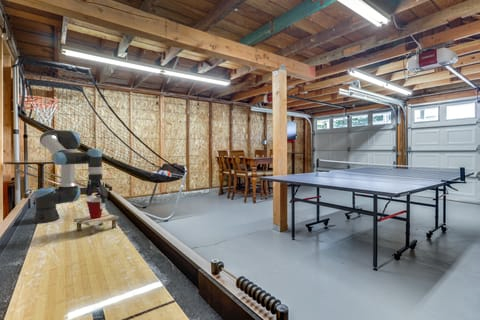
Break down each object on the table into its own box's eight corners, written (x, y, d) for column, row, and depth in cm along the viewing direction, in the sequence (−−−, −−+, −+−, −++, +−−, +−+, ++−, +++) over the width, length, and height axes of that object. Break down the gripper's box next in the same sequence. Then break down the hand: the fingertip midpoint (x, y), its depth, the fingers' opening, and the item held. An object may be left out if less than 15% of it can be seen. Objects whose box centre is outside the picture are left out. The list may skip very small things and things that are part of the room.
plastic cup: (99, 220, 153) (99, 200, 152) (82, 220, 153) (81, 200, 153) (109, 215, 164) (108, 197, 163) (93, 215, 164) (92, 197, 163)
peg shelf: (74, 231, 155) (73, 219, 155) (102, 223, 171) (102, 212, 171) (90, 236, 146) (90, 223, 146) (118, 227, 162) (118, 216, 162)
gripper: (78, 173, 160) (79, 206, 161) (101, 175, 148) (102, 210, 149) (90, 172, 167) (91, 203, 168) (113, 174, 154) (114, 208, 155)
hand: (96, 207), depth 158 cm, fingers open, 13 cm apart
